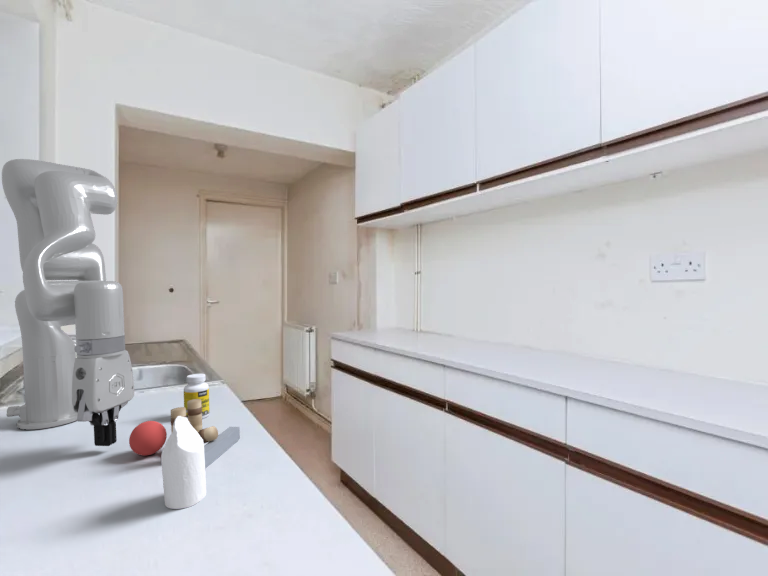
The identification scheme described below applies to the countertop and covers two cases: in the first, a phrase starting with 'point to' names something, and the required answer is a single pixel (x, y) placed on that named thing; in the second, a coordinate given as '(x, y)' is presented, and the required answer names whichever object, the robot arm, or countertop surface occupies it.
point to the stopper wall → (221, 444)
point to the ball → (147, 438)
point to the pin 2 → (195, 413)
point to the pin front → (208, 434)
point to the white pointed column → (183, 466)
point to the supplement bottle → (197, 392)
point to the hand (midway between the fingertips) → (105, 444)
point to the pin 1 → (177, 414)
